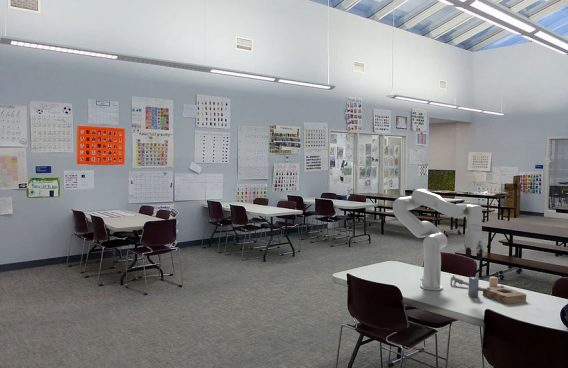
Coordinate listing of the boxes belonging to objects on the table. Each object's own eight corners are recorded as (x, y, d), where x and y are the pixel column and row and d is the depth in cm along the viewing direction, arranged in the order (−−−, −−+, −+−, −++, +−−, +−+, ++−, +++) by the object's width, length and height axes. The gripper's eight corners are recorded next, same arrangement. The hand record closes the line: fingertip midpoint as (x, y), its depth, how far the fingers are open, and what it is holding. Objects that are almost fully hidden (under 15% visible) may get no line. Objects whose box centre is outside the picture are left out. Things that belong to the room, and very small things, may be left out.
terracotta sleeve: (487, 290, 252) (487, 276, 252) (492, 289, 254) (493, 276, 253) (493, 292, 248) (493, 278, 248) (499, 291, 250) (499, 278, 249)
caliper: (450, 285, 263) (450, 274, 263) (450, 284, 264) (451, 274, 264) (486, 291, 250) (486, 281, 250) (486, 291, 251) (487, 280, 251)
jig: (482, 295, 243) (483, 286, 243) (501, 292, 248) (501, 284, 248) (506, 304, 228) (507, 295, 228) (526, 301, 233) (526, 292, 233)
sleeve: (466, 294, 243) (466, 277, 243) (473, 294, 245) (473, 276, 244) (473, 297, 239) (473, 279, 238) (480, 296, 240) (480, 278, 240)
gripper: (458, 225, 246) (458, 255, 246) (478, 229, 229) (477, 262, 229) (470, 225, 247) (470, 254, 248) (490, 229, 230) (490, 261, 231)
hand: (473, 258), depth 239 cm, fingers open, 9 cm apart
